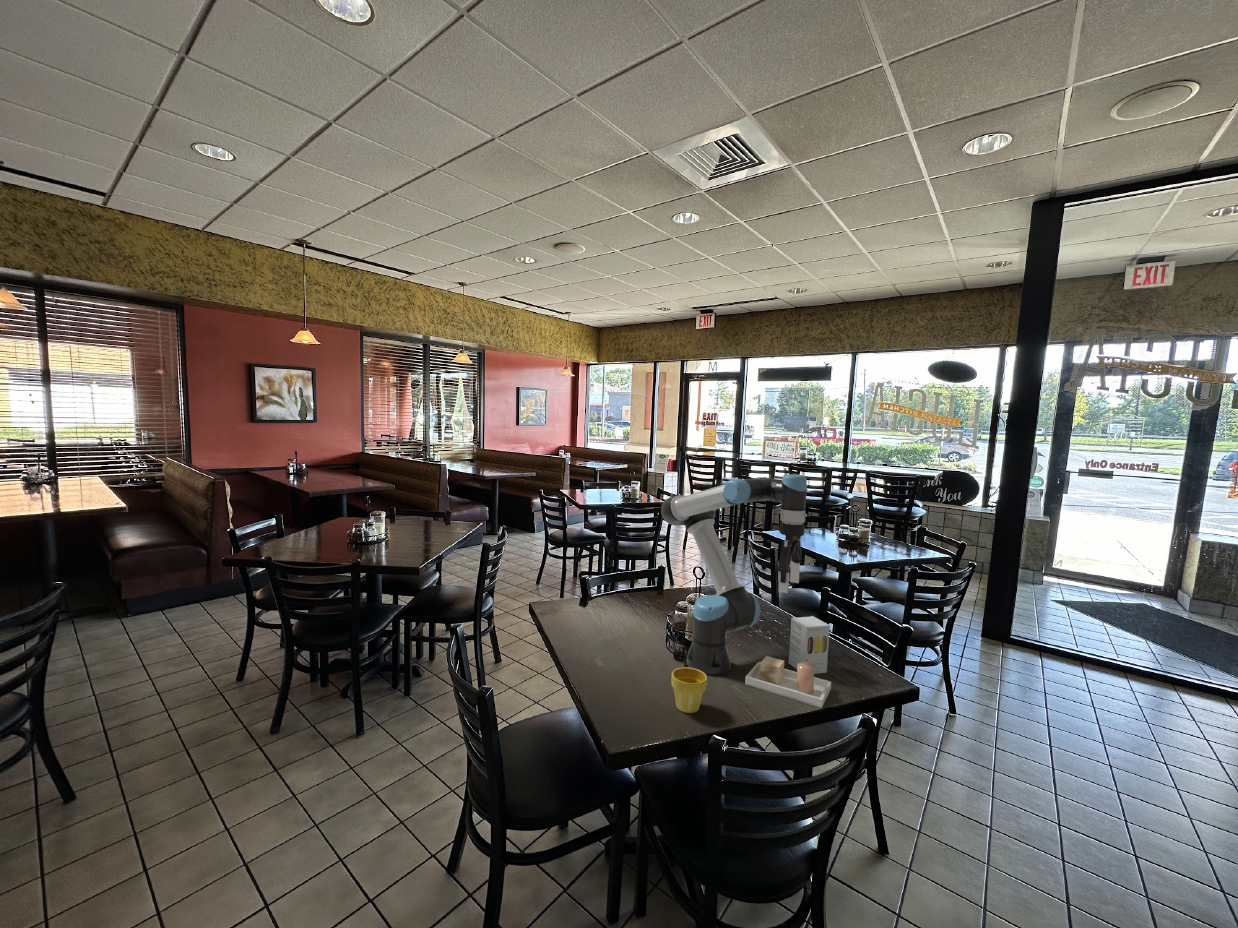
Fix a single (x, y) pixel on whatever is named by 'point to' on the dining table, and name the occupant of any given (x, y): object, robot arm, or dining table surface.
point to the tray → (790, 687)
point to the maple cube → (772, 670)
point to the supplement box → (809, 643)
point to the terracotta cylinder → (805, 678)
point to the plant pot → (688, 688)
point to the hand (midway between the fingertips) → (789, 587)
